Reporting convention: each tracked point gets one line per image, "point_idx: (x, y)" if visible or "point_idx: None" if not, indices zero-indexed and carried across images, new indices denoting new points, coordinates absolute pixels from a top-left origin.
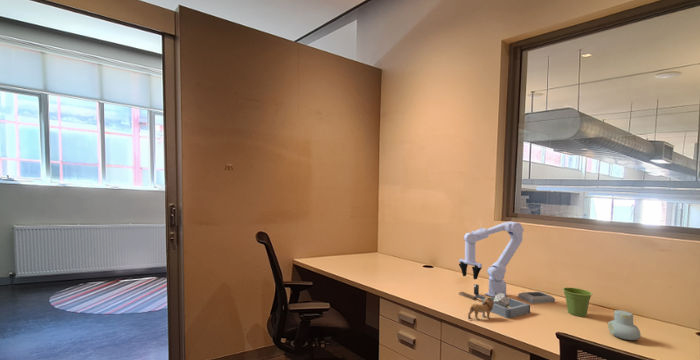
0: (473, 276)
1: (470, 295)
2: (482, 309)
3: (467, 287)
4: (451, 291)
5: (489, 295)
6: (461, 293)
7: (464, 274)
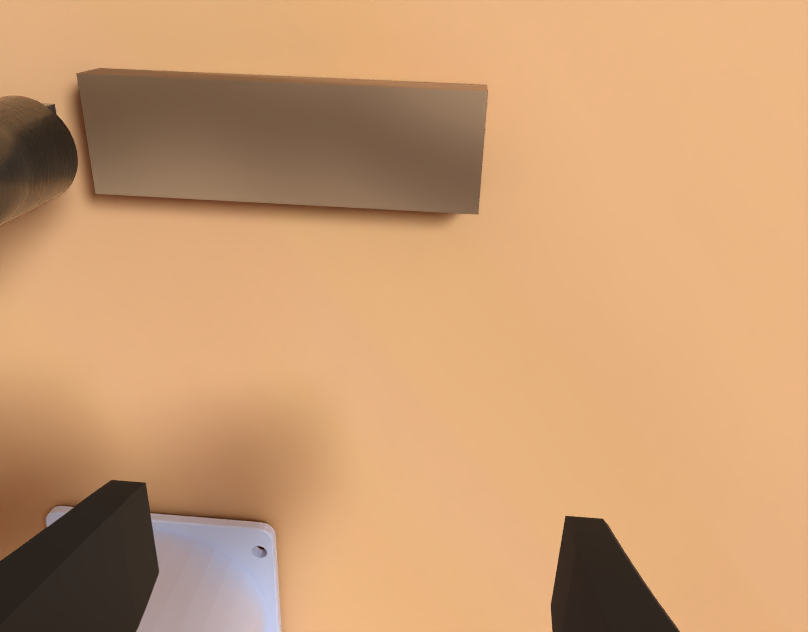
0: (87, 530)
1: (213, 142)
2: None
3: (678, 594)
4: (724, 114)
5: (187, 516)
6: (413, 88)
7: (568, 588)
